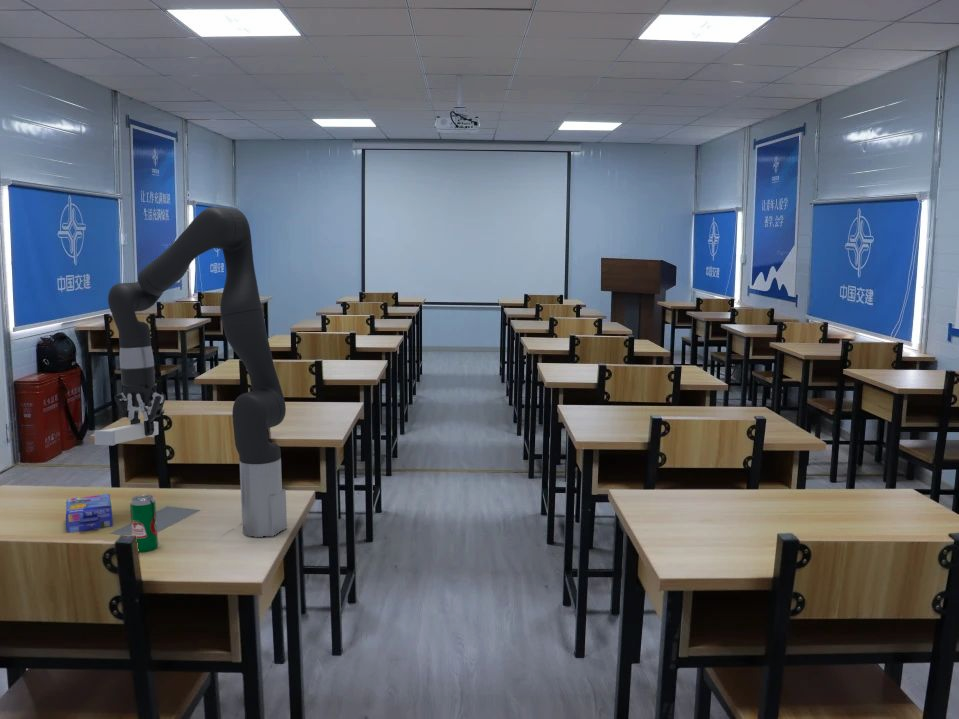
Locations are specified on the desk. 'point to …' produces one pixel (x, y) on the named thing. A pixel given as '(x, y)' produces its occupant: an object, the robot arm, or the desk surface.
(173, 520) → the mat
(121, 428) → the white square rod
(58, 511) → the desk surface
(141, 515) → the soda can
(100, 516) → the ink cartridge box
